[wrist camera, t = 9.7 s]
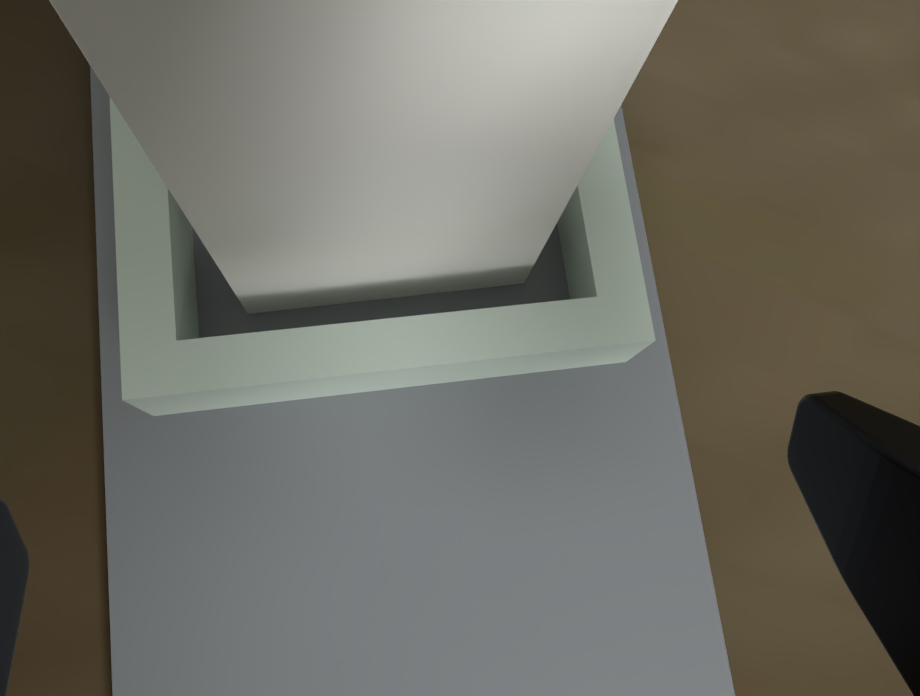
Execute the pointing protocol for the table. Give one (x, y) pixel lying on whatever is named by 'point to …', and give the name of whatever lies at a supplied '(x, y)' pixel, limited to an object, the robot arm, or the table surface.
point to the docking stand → (396, 469)
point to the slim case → (367, 130)
